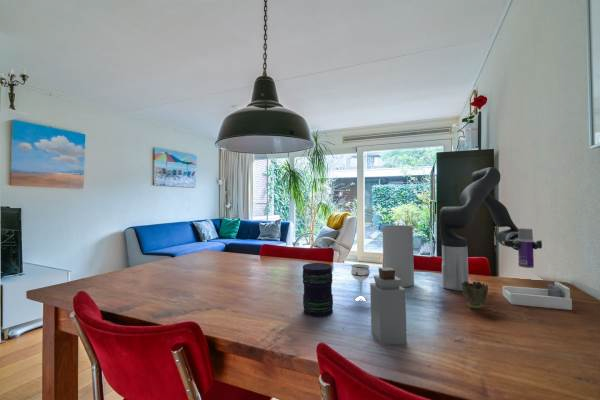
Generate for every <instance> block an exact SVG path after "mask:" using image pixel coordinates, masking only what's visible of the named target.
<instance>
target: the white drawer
mask: <svg viewBox="0 0 600 400" xmlns="http://www.w3.org/2000/svg"><path fill="white" fill-rule="evenodd" d="M553 285H554V286H556V287H557V288H559V289H561V294H562V297H552V296H548V288H537V287H534V288H533V287H523V286H509V285H502V296H503V297H504V298H505V300H507V301H508V303H510V304H511V305H514V306H515V305H517V306H527V307H536V308H547V309H557V310H558V309H559V310H560V309H561V310H570V311H573V300H572V299H573V298H571V289H570V288H569V287H568V286H566V285H565V284H562V283H561V282H559V281H554V284H553Z"/></svg>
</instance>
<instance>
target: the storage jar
mask: <svg viewBox="0 0 600 400" xmlns="http://www.w3.org/2000/svg"><path fill="white" fill-rule="evenodd" d="M332 269H333V266H332V264H329V263H324V262H311V263H305V264H303V265H302V284H303V295H302V299H303V300H302V305H303V306H302V308H303V314H304V315H306V316H307V317H311V318H326V317H330V316H331V315H332V314H333V313H334V309H333V306H334V297H333V296H334V295H333V289H332V284H333V270H332Z"/></svg>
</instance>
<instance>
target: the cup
mask: <svg viewBox="0 0 600 400" xmlns="http://www.w3.org/2000/svg"><path fill="white" fill-rule="evenodd" d="M462 289H463V291H462V294H463V298H464V300H465V301H466V302H467V303H468V306H469V308H470V309H473V310H481V309H482V307H483V306H482V305H484V304H485V303H486V301H487V298H488V293H489V292H488V290H489V285H488V283H487V284H485V283H481V282H480V281H477V282H476V281H472V282H471V283H470V282H469V281H468V282H466V281H464V283H463V282H462Z"/></svg>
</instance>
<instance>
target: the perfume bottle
mask: <svg viewBox="0 0 600 400" xmlns="http://www.w3.org/2000/svg"><path fill="white" fill-rule="evenodd" d="M373 278H374V282H369V283H370V285H369V286H370V288H369V291H370V318H371V319H370V327H371V328H370V329H371V330H370V331H371V335H373V337H374V338H375V340H376V342H378V344H379V345H380V346H389V345H403V344H404V345H405V344H406V345H407V342H408V341H407V339H408V338H407V337H408V336H407V335H408V334H407V306H406V305H407V304H406V301H407V300H406V288H405V287H401V286H400V283H401V279H399V278H398V277H396V276H395V270H394V269H392V268H390V267H385V268H383V267H378V274H377V275H376V274H375V275H374V274H373Z"/></svg>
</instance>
